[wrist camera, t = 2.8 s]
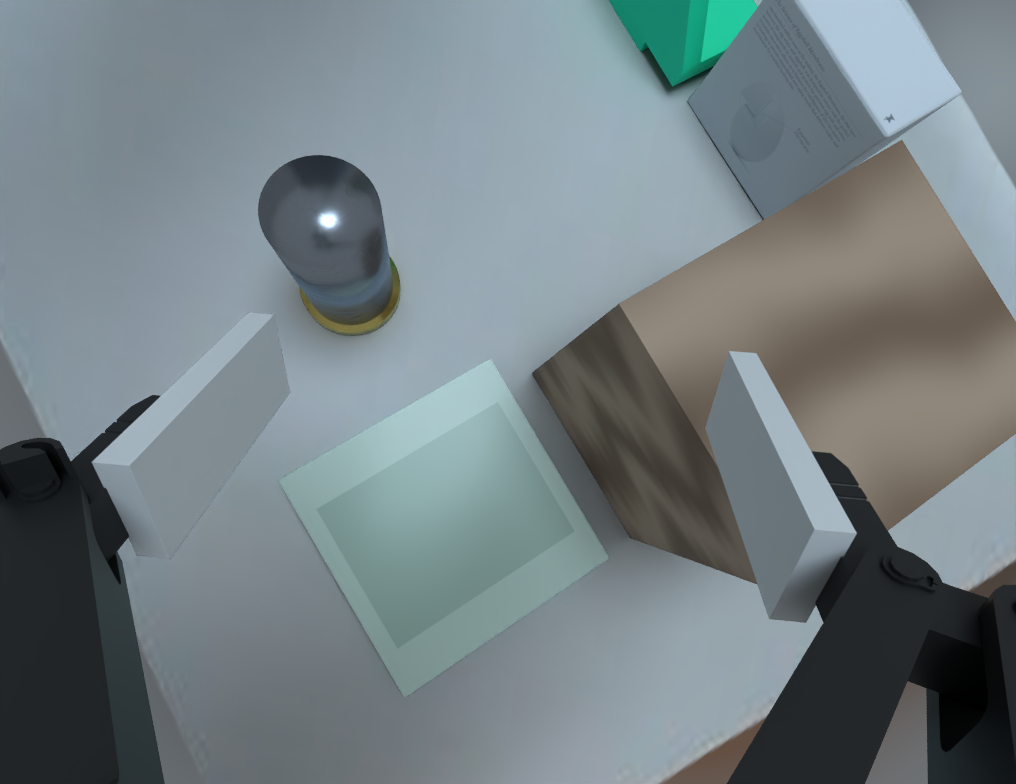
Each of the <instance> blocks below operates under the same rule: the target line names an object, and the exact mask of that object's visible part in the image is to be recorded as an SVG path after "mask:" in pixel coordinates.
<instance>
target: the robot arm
mask: <svg viewBox="0 0 1016 784" xmlns="http://www.w3.org/2000/svg"><path fill="white" fill-rule="evenodd" d="M289 394H290V389H289V384H288V379H287V374H286V370H285V365H284V360H283V355H282V350H281V346H280V341H279V336H278V331H277V326H276V322H275V317H274V315H272V314H260V313H248V314H247V315H245V316H244V317H243V318H242V319H241V320H240V321H239V322H238V323H237V324H236V325H235V326H234V327H233V328H232V329H231V330H230V331H229V332H228V333H227V334H226V335H224V336H223V337H222V338H221V339H220V340H219V341H218V342H217V343H216V344H215V345H214V346H213V347H212V348H211V349H210V350H209V351H208V352H207V353H206V354H205V355H203V356H202V357H201V358H200V359H199V360H198V361H197V362H196V363H195V364H194V365H193V366H192V367H191V368H190V369H189V370H188V371H187V372H186V373H185V374H184V375H183V376H181V377H180V378H179V379H178V380H177V381H176V382H175V383H174V384H173V385H172V386H171V387H170V388H169V389H168V390H167V391H166V392H165V393H164V394H163V395H162V396H157V395H152V396H150V397H148V398H146V399H144V400H142V401H140V402H139V403H137V404H135V405H133V406H131V407H130V408H129V409H128V410H127V411H126V412H125V413H124V414H123V415H121V416H120V417H119V418H118V419H117V422H114V423H113V424H112V425H110V426H109V427H108V428H107V429H106V430H105V433H102V434H101V435H100V436H98V437H97V438H96V439H95V440H94V441H93V442H92V443H91V444H90V445H89V446H87V447H86V448H85V449H84V450H83V451H82V452H81V453H80V454H79V455H78V456H76V457H75V458H74V459H73V460H72V461H70V459H69V457H68V456H67V454H66V452H65V450H64V448H63V446H62V445H61V443H60V441H57V440H54V439H51V438H35V439H29V440H24V441H20V442H17V443H15V444H12V445H9V446H6V447H4V448H3V449H1V450H0V784H165V783H164V778H163V773H162V768H161V762H160V757H159V752H158V747H157V741H156V736H155V731H154V726H153V721H152V715H151V710H150V705H149V700H148V695H147V689H146V684H145V679H144V673H143V668H142V663H141V658H140V652H139V647H138V642H137V637H136V632H135V626H134V621H133V616H132V611H131V605H130V600H129V595H128V590H127V584H126V579H125V574H124V569H123V563H122V560H121V558H120V556H119V554H118V552H117V551H118V549H119V548H120V547H121V546H122V545H123V543H124V542H125V541H126V540H127V539H128V538H129V540H130V542H131V544H132V546H133V548H134V550H135V552H136V554H137V556H147V557H157V558H167V559H171V557H172V556H173V555H174V553H175V552H176V550H177V549H178V548H179V546H180V545H181V543H182V542H183V541H184V539H185V538H186V537H187V535H188V534H189V532H190V531H191V530H192V528H193V527H194V525H195V524H196V523H197V521H198V520H199V519H200V517H201V516H202V514H203V513H204V512H205V510H206V509H207V507H208V506H209V505H210V503H211V502H212V500H213V499H214V498H215V496H216V495H217V494H218V492H219V491H220V489H221V488H222V487H223V485H224V484H225V482H226V481H227V480H228V478H229V477H230V475H231V474H232V473H233V471H234V470H235V469H236V467H237V466H238V464H239V463H240V462H241V460H242V459H243V457H244V456H245V455H246V453H247V452H248V450H249V449H250V448H251V446H252V445H253V444H254V442H255V441H256V439H257V438H258V437H259V435H260V434H261V432H262V431H263V430H264V428H265V427H266V425H267V424H268V423H269V421H270V420H271V419H272V417H273V416H274V414H275V413H276V412H277V410H278V409H279V407H280V406H281V405H282V403H283V402H284V400H285V399H286V398H287V396H288V395H289ZM705 429H706V432H707V435H708V438H709V441H710V444H711V447H712V450H713V453H714V456H715V459H716V462H717V465H718V468H719V471H720V474H721V477H722V480H723V483H724V486H725V489H726V492H727V495H728V498H729V501H730V504H731V507H732V510H733V513H734V516H735V519H736V522H737V525H738V527H739V530H740V533H741V536H742V539H743V542H744V545H745V548H746V551H747V554H748V557H749V560H750V563H751V566H752V569H753V572H754V575H755V578H756V581H757V584H758V587H759V590H760V593H761V596H762V599H763V602H764V605H765V608H766V611H767V614H768V617H769V619H775V620H785V621H795V622H805V623H806V622H807V620H808V618H809V616H810V615H811V613H812V611H813V609H814V608H815V606H817V608H818V611H819V613H820V615H821V618H822V620H823V622H824V623H823V625H822V626H821V628H820V630H819V631H818V633H817V635H816V636H815V638H814V640H813V641H812V643H811V645H810V646H809V648H808V649H807V651H806V653H805V654H804V656H803V658H802V659H801V661H800V663H799V664H798V666H797V668H796V669H795V671H794V673H793V674H792V676H791V678H790V679H789V681H788V683H787V684H786V686H785V688H784V689H783V691H782V693H781V694H780V696H779V698H778V699H777V701H776V703H775V704H774V706H773V708H772V709H771V711H770V713H769V714H768V716H767V718H766V719H765V721H764V723H763V724H762V726H761V728H760V729H759V731H758V733H757V734H756V736H755V738H754V739H753V741H752V743H751V744H750V746H749V748H748V749H747V751H746V753H745V754H744V756H743V758H742V759H741V761H740V763H739V764H738V766H737V768H736V769H735V771H734V773H733V774H732V776H731V777H730V779H729V781H728V783H727V784H865V782H866V780H867V777H868V775H869V772H870V770H871V768H872V765H873V763H874V760H875V758H876V755H877V753H878V751H879V748H880V746H881V743H882V741H883V738H884V736H885V734H886V731H887V729H888V727H889V724H890V722H891V719H892V717H893V714H894V712H895V710H896V707H897V705H898V702H899V700H900V698H901V695H902V693H903V690H904V688H905V686H906V683H907V681H909V682H912V683H914V684H917V685H920V686H922V687H925V688H926V689H927V690H926V691H927V748H928V749H927V753H928V784H1016V585H1003V586H1001V587H999V588H997V589H996V590H995V591H994V592H993V593H992V594H991V596H990V597H989V598H986V597H983V596H980V595H977V594H974V593H971V592H968V591H965V590H962V589H959V588H956V587H953V586H950V585H947V584H945V583H943V582H942V580H941V579H940V577H939V575H938V573H937V572H936V571H935V570H934V569H933V568H932V567H931V566H930V565H929V564H928V563H927V562H926V561H924V560H922V559H921V558H919V557H918V556H916V555H915V554H913V553H911V552H909V551H906V550H904V549H901V548H899V547H897V545H896V544H895V542H894V540H893V539H892V537H891V536H890V534H889V532H888V531H887V529H886V527H885V526H884V524H883V523H882V521H881V519H880V518H879V516H878V515H877V513H876V511H875V510H874V508H873V506H872V505H871V503H870V502H869V501H867V497H866V495H865V494H864V492H863V490H862V489H861V488H859V484H858V482H857V481H856V479H855V477H854V476H853V474H852V473H851V471H850V469H849V468H848V467H847V466H846V465H844V464H843V463H842V462H841V461H840V460H839V459H837V458H836V457H835V456H834V455H833V454H832V453H826V452H815V451H811V450H810V448H809V447H808V445H807V443H806V441H805V439H804V438H803V436H802V434H801V432H800V431H799V429H798V427H797V425H796V423H795V422H794V420H793V418H792V416H791V414H790V413H789V411H788V409H787V407H786V405H785V404H784V402H783V400H782V398H781V396H780V395H779V393H778V391H777V389H776V388H775V386H774V384H773V382H772V380H771V379H770V377H769V375H768V373H767V371H766V370H765V368H764V366H763V364H762V362H761V361H760V359H759V357H758V355H757V353H748V352H735V351H729V352H728V355H727V358H726V362H725V365H724V368H723V372H722V375H721V378H720V381H719V385H718V388H717V391H716V395H715V398H714V401H713V404H712V408H711V411H710V414H709V417H708V421H707V424H706V427H705Z"/></svg>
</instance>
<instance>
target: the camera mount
mask: <svg viewBox="0 0 1016 784" xmlns="http://www.w3.org/2000/svg"><path fill="white" fill-rule="evenodd" d="M609 1H610V3H611V5H612V6H613V8H614V9H615V11H616V13H617V14H618V16H619V18H620V19H621V21H622V23H623V24H624V26H625V27H626V29H627V31H628V32H629V34H630V36H631V37H632V39H633V41H634V42H635V44H636V45H637V47H638V49H639V50H640V51H642V50H644V49H646V48H649V49H650V51H651V52H652V54H653V56H654V57H655V59H656V60H657V62H658V64H659V65H660V67H661V69H662V70H663V72H664V73H665V75H666V77H667V78H668V80H669V82H670V83H671V85H672V86H675V85H677V84H679V83H681V82H683V81H685V80H687V79H689V78H691V77H693V76H695V75H697V74H699V73H701V72H703V71H705V70H707V69H709V68H711V67H713V66H715V64H716V63H717V62H718V60H719V59H720V58H721V56H722V55H723V54H724V52H725V51H726V50H727V48H728V47H729V45H730V44H731V43H732V41H733V40H734V39H735V37H736V36H737V35H738V33H739V32H740V31H741V29H742V28H743V27H744V25H745V24H746V22H747V21H748V20H749V18H750V17H751V16H752V14H753V13H754V12H755V10H756V9H757V5H756V3H755V2H754V0H609Z"/></svg>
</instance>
